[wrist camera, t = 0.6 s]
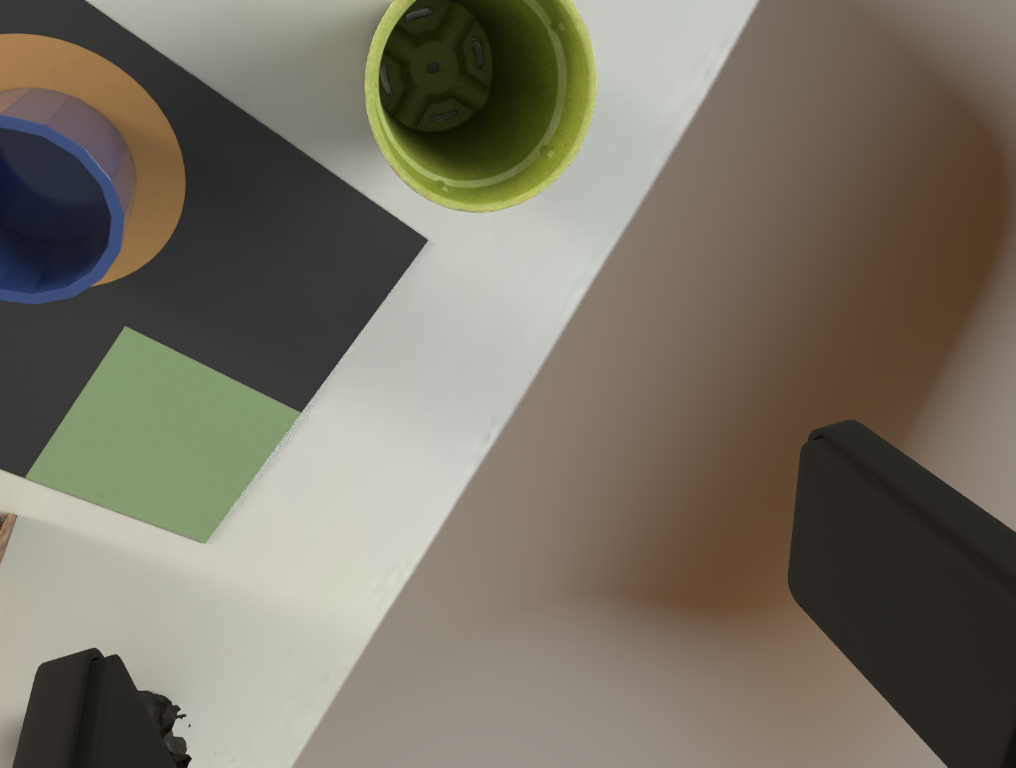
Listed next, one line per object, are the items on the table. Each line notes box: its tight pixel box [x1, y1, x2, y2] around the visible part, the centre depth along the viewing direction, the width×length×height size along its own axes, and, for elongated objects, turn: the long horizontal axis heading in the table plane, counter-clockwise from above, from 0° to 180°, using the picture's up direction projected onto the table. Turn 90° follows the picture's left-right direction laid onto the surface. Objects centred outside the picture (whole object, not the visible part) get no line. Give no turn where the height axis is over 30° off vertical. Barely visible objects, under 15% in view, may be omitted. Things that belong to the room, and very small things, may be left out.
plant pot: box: [364, 0, 597, 212], centre depth 34 cm, size 9×9×9 cm
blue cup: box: [0, 87, 137, 305], centre depth 31 cm, size 7×7×7 cm
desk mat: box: [0, 0, 428, 543], centre depth 38 cm, size 22×22×1 cm
